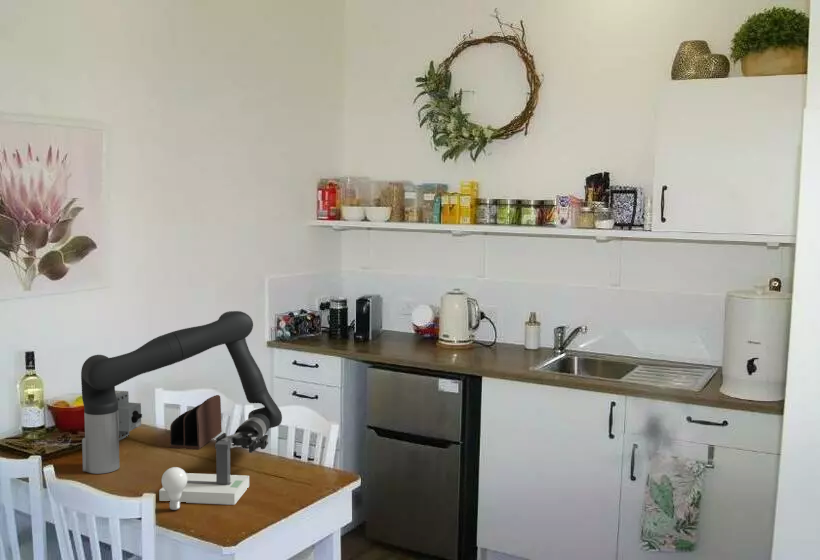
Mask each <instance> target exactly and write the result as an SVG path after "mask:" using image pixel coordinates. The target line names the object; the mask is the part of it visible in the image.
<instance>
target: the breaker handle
mask: <svg viewBox="0 0 820 560" xmlns="http://www.w3.org/2000/svg"><path fill="white" fill-rule="evenodd" d="M230 446H231V441H218V442H217V443H216V442H215V444H214V449H215V451H216V452H215V455H216V456H215V459H216V460H215V461H216V463H215V464H216V465H215V466H216V467H215V469H216V473H215V474H216V484H228V483H229V482H230V475H231V448H230Z"/></svg>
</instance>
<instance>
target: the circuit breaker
mask: <svg viewBox="0 0 820 560" xmlns="http://www.w3.org/2000/svg"><path fill="white" fill-rule="evenodd" d="M115 394H116V397H117V400H118V421H119V436H120V437H119V441H121V440H123V439H125V438H127V437H129V436H130V432H131V431H133V430H136V429H137V428H139V427H141V426H142V418H143V414H142V404H141V402H130V399H129V398H130V397H129V391H128V390H116V389H115ZM122 435H123V436H122ZM128 435H129V436H128ZM126 436H127V437H126Z"/></svg>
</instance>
